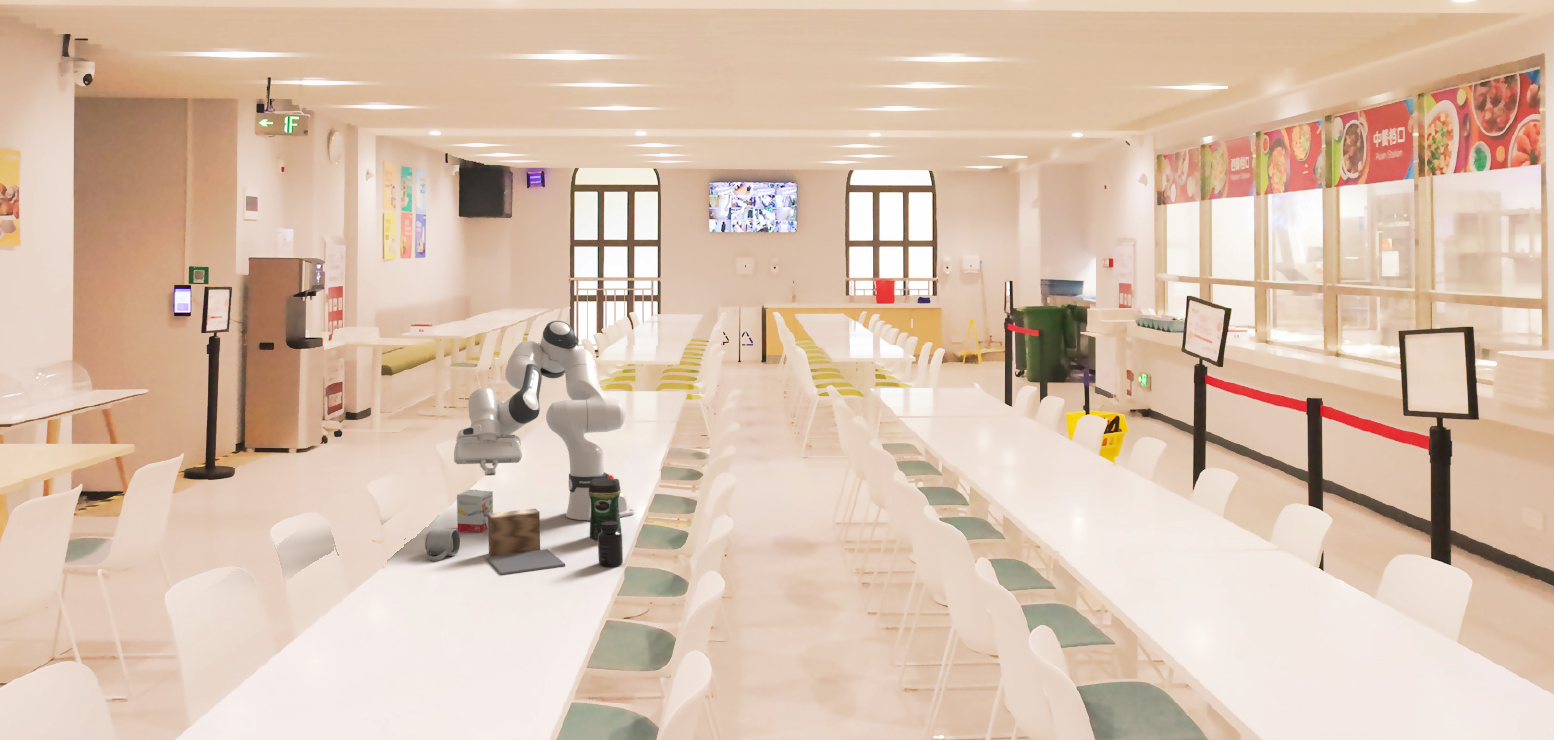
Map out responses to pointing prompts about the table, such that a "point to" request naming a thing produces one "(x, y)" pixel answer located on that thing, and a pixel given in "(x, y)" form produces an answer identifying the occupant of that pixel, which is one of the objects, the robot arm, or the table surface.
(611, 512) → the coffee jar
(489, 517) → the walnut slab
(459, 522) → the ink box
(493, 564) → the mat
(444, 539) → the ceramic mug
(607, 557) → the supplement bottle
